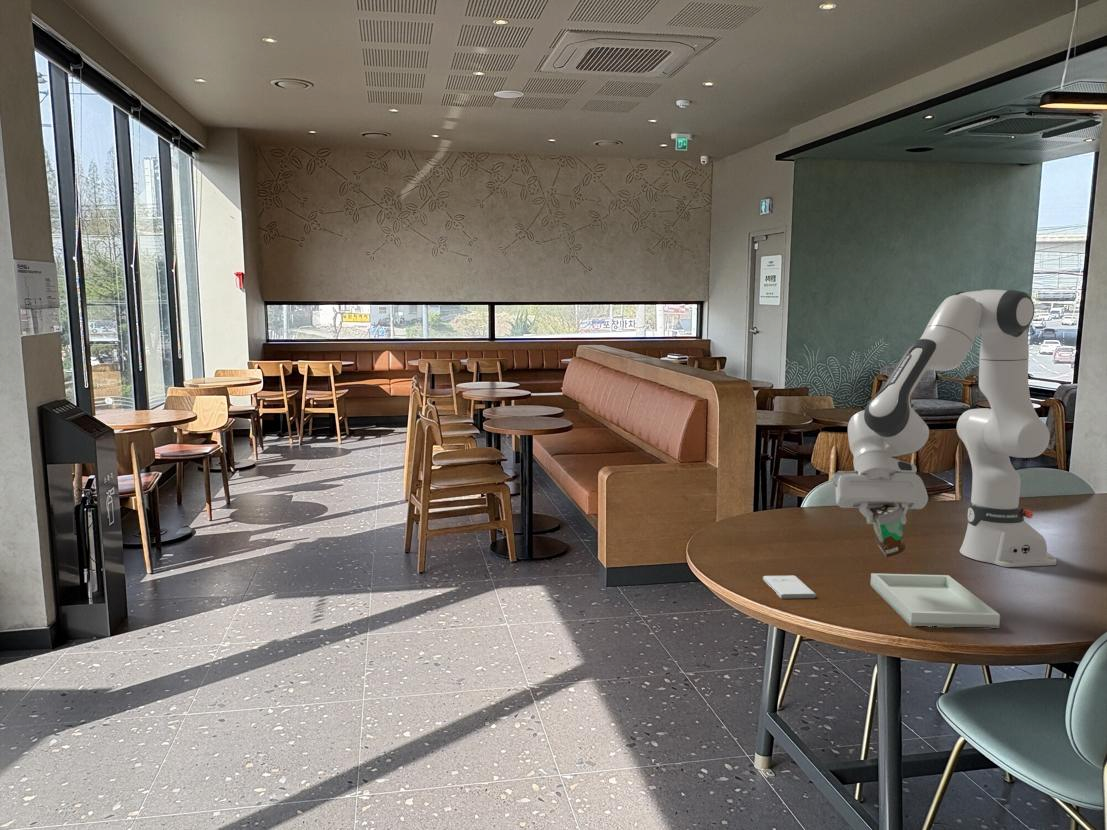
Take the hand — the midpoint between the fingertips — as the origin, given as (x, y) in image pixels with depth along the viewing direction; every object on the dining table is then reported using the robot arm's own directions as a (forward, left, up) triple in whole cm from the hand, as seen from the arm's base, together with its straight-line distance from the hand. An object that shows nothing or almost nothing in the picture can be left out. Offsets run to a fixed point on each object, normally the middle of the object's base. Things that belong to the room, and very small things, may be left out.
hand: (887, 523), depth 182 cm
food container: (-3, 0, -6) cm, 7 cm away
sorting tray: (-8, +6, -17) cm, 20 cm away
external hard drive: (+21, -2, -18) cm, 27 cm away
